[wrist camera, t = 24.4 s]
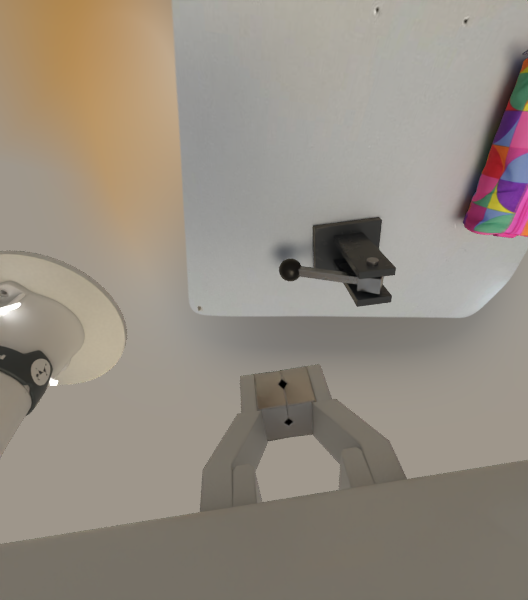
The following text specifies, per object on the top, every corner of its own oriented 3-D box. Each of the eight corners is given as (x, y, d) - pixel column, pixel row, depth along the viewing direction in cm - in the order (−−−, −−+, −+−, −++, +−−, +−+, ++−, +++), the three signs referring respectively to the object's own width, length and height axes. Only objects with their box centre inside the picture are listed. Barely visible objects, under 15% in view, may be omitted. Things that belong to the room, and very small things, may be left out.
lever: (285, 272, 48) (276, 283, 45) (283, 253, 46) (274, 263, 43) (382, 286, 42) (378, 299, 39) (385, 265, 40) (381, 277, 38)
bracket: (313, 272, 52) (335, 319, 41) (313, 225, 47) (336, 264, 36) (374, 264, 52) (410, 308, 41) (379, 216, 47) (421, 253, 37)
